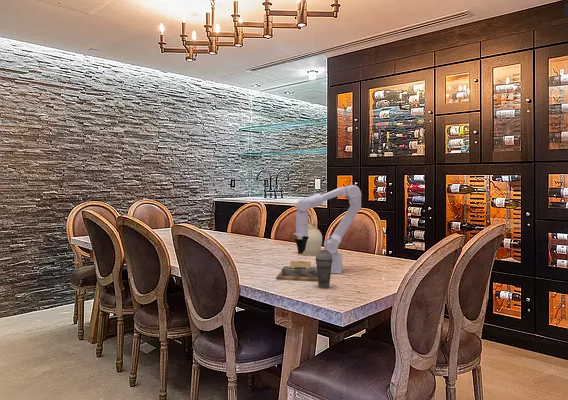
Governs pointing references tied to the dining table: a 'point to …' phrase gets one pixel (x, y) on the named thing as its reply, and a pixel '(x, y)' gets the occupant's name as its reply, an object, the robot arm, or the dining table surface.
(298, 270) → the rail board
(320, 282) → the beverage cup
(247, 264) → the dining table surface
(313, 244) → the jug
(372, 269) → the dining table surface
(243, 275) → the dining table surface
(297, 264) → the pine wood offcut
